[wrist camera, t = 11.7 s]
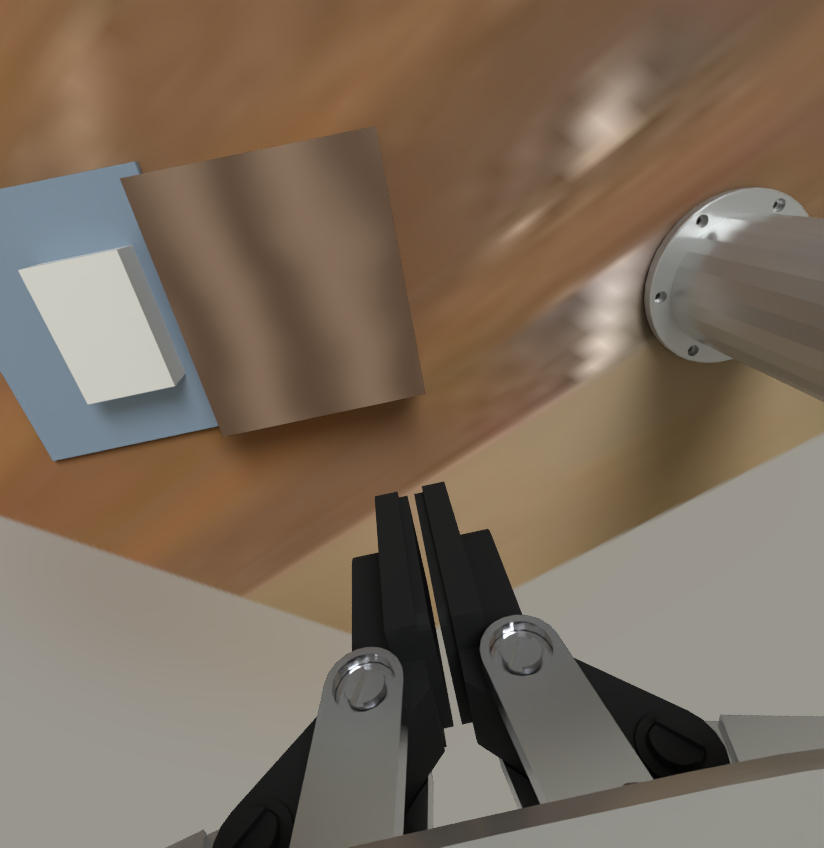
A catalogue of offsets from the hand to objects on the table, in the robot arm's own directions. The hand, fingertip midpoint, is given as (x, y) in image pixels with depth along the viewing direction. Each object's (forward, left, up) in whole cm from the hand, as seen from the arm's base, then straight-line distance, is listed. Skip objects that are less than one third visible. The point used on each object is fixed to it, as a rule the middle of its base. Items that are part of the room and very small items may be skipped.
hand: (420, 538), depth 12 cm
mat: (+20, -2, -27) cm, 33 cm away
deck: (+5, -2, -27) cm, 28 cm away
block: (+18, -2, -24) cm, 30 cm away
